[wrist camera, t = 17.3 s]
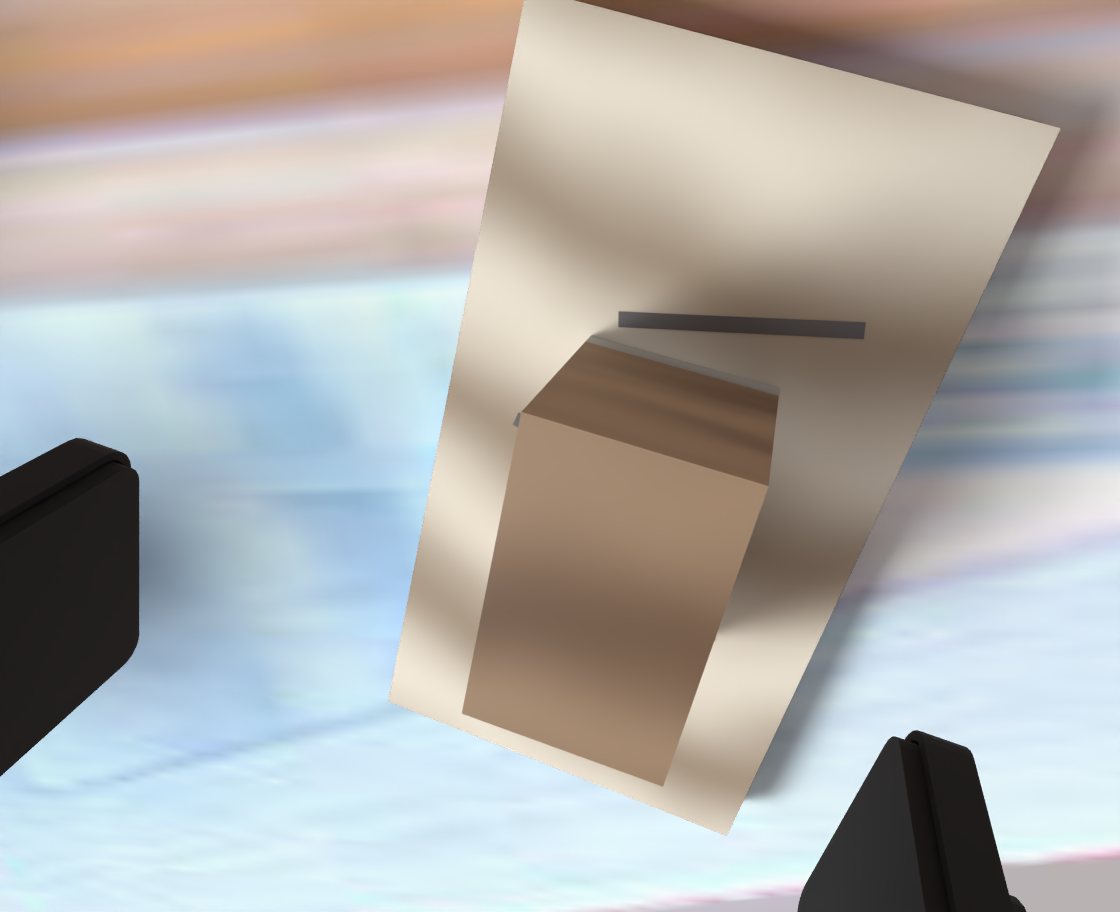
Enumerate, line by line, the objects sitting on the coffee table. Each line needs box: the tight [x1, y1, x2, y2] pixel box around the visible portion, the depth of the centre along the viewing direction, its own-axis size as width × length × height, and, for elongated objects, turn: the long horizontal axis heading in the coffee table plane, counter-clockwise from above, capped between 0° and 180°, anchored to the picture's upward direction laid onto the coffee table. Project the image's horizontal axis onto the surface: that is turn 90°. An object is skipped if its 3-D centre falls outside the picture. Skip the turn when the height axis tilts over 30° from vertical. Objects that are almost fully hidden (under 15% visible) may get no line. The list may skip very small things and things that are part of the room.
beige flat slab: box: [388, 0, 1061, 836], centre depth 24 cm, size 22×12×2 cm, turn 167°
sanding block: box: [462, 335, 780, 787], centre depth 21 cm, size 8×5×6 cm, turn 169°
